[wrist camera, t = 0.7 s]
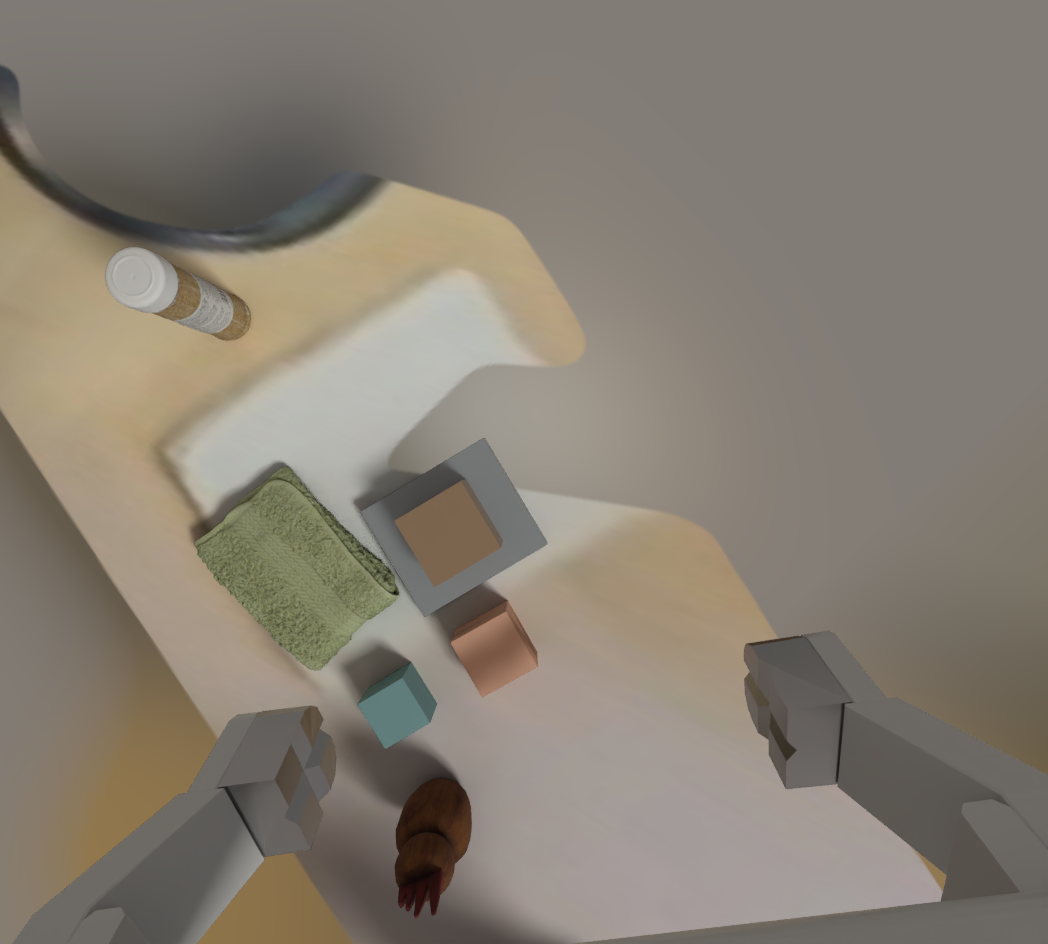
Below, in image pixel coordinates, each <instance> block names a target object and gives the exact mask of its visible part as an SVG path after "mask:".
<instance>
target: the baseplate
mask: <svg viewBox="0 0 1048 944" xmlns="http://www.w3.org/2000/svg"><path fill="white" fill-rule="evenodd" d="M360 513H361V514H362V516H363V517H364V519H365V521H366V522H367V524H368V526H369V527H370V529H371V531H372V532H373V534H374V535H375V537H376V539H377V540H378V542H379V544H380V545H381V547H382V549H383V550H384V552H385V554H386V555H387V557H388V558H389V560H390V562H391V563H392V565H393V567H394V568H395V570H396V572H397V573H398V575H399V576H400V578H401V580H402V581H403V583H404V585H405V586H406V588H407V590H408V591H409V593H410V594H411V596H412V598H413V599H414V601H415V603H416V604H417V606H418V608H419V609H420V611H421V612H422V614H423V616H424V617H426V616H427V615H429V614H431V613H432V612H434V611H436V610H437V609H439V608H441V607H442V606H444V605H446V604H447V603H449V602H451V601H453V600H454V599H456V598H458V597H459V596H461V595H463V594H464V593H466V592H468V591H469V590H471V589H473V588H474V587H476V586H478V585H480V584H481V583H483V582H485V581H486V580H488V579H490V578H491V577H493V576H495V575H496V574H498V573H500V572H501V571H503V570H505V569H507V568H508V567H510V566H512V565H513V564H515V563H517V562H518V561H520V560H522V559H523V558H525V557H527V556H529V555H530V554H532V553H534V552H535V551H537V550H539V549H540V548H542V547H544V546H545V545H547V541H546V539H545V537H544V536H543V534H542V532H541V531H540V529H539V527H538V526H537V524H536V522H535V521H534V519H533V517H532V516H531V514H530V512H529V511H528V509H527V507H526V506H525V504H524V502H523V501H522V499H521V497H520V496H519V494H518V493H517V491H516V489H515V488H514V486H513V484H512V483H511V481H510V479H509V478H508V476H507V474H506V473H505V471H504V469H503V468H502V466H501V464H500V463H499V461H498V459H497V458H496V456H495V455H494V453H493V451H492V449H491V448H490V446H489V444H488V443H487V441H486V439H485V438H483V439H481V440H479V441H478V442H476V443H475V444H473V445H471V446H469V447H468V448H466V449H464V450H463V451H461V452H459V453H458V454H456V455H454V456H453V457H451V458H450V459H448V460H446V461H444V462H443V463H441V464H439V465H438V466H436V467H434V468H433V469H431V470H429V471H428V472H426V473H424V474H423V475H421V476H419V477H418V478H416V479H414V480H413V481H411V482H409V483H408V484H406V485H404V486H403V487H401V488H399V489H398V490H396V491H394V492H393V493H391V494H390V495H388V496H386V497H385V498H383V499H381V500H380V501H378V502H376V503H375V504H373V505H371V506H370V507H368V508H366V509H365V510H363V511H361V512H360Z"/></svg>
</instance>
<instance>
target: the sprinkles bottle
mask: <svg viewBox="0 0 1048 944" xmlns="http://www.w3.org/2000/svg"><path fill="white" fill-rule="evenodd" d="M105 279H106V285H107V287H108V290H109V292H110V293H111V295H112V296H113V297H114V298H115V299H116V300H117V301H118V302H119V303H121V304H123V305H125V306H127V307H130V308H132V309H135V310H138V311H141V312H145V313H153V314H156V315H158V316H161V317H163V318H166V319H169V320H172V321H174V322H177V323H179V324H181V325H184V326H186V327H189V328H192V329H195V330H197V331H200V332H203V333H208V334H211V335H214V336H215V337H217V338H219V339H221V340H236V339H238V338H240V337H242V336H243V335H244V334H245V333H246V332H247V330H248V329H249V326H250V322H251V314H250V311H249V308H248V306H247V305H246V303H245V302H244V301H243V300H241V299H240V298H238V297H236V296H234V295H230V294H228V293H226V292H225V291H223V290H222V289H220V288H218V287H217V286H215V285H213V284H211V283H209V282H207V281H205V280H203V279H201V278H199V277H197V276H196V275H194V274H192V273H190V272H188V271H185V270H183V269H180V268H178V267H176V266H174V265H172V264H171V263H170V262H168V261H167V260H166V259H165V258H163V257H161V256H159V255H157V254H155V253H153V252H151V251H149V250H147V249H144V248H140V247H128V248H125V249H122V250H120V251H118V252H117V253H116V254H115V255H114V256H113V257H112V258H111V259H110V261H109V262H108V265H107V267H106V273H105Z"/></svg>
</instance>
